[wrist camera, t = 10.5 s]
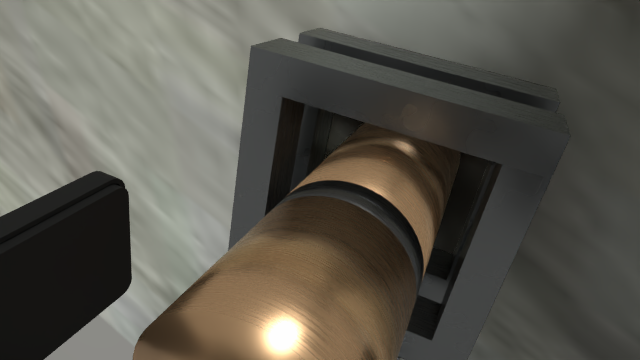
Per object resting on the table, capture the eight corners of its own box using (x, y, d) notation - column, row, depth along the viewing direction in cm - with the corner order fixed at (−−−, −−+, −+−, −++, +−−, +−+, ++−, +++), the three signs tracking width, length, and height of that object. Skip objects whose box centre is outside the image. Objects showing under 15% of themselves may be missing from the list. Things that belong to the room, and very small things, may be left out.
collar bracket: (554, 82, 17) (588, 193, 8) (446, 338, 23) (402, 556, 14) (329, 25, 19) (174, 65, 11) (284, 271, 25) (161, 425, 16)
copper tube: (370, 90, 20) (131, 271, 8) (475, 120, 18) (392, 388, 6) (348, 181, 22) (132, 440, 10) (442, 214, 20) (331, 552, 8)
